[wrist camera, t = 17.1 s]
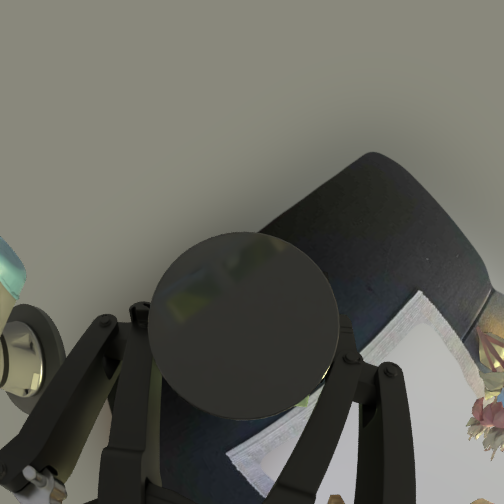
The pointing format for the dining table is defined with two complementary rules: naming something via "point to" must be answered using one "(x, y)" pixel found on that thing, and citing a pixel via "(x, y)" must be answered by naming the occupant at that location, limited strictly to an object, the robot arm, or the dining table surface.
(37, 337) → the robot arm
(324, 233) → the dining table surface
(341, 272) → the dining table surface
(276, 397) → the dark grey cylinder
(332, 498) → the low shelf
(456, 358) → the dining table surface
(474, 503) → the teacup with lid
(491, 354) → the flower
